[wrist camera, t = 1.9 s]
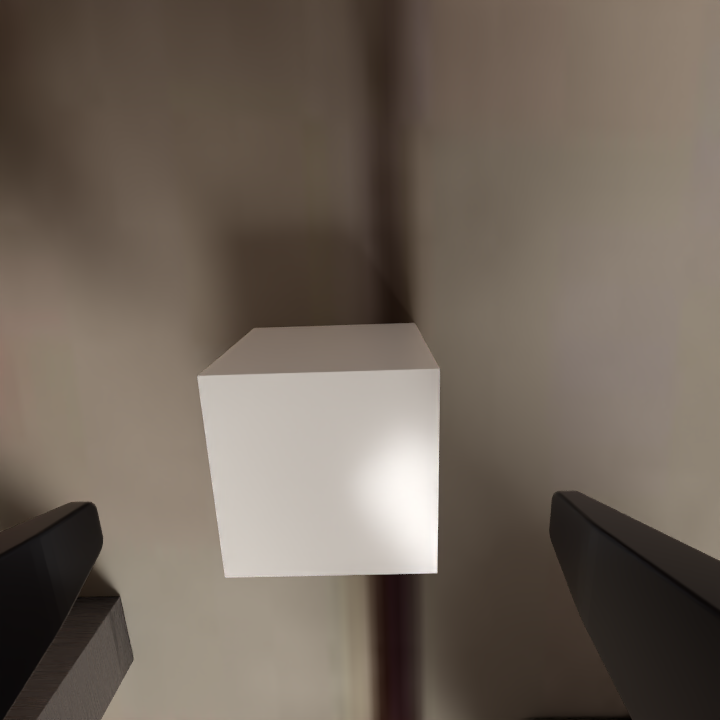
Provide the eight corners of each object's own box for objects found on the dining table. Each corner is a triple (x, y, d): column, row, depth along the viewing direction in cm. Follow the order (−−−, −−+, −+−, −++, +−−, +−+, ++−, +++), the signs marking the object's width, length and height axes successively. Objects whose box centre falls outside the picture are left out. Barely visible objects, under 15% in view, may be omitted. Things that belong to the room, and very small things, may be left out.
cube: (414, 322, 14) (440, 368, 9) (414, 466, 15) (437, 573, 11) (254, 327, 14) (197, 375, 9) (268, 470, 15) (224, 577, 11)
